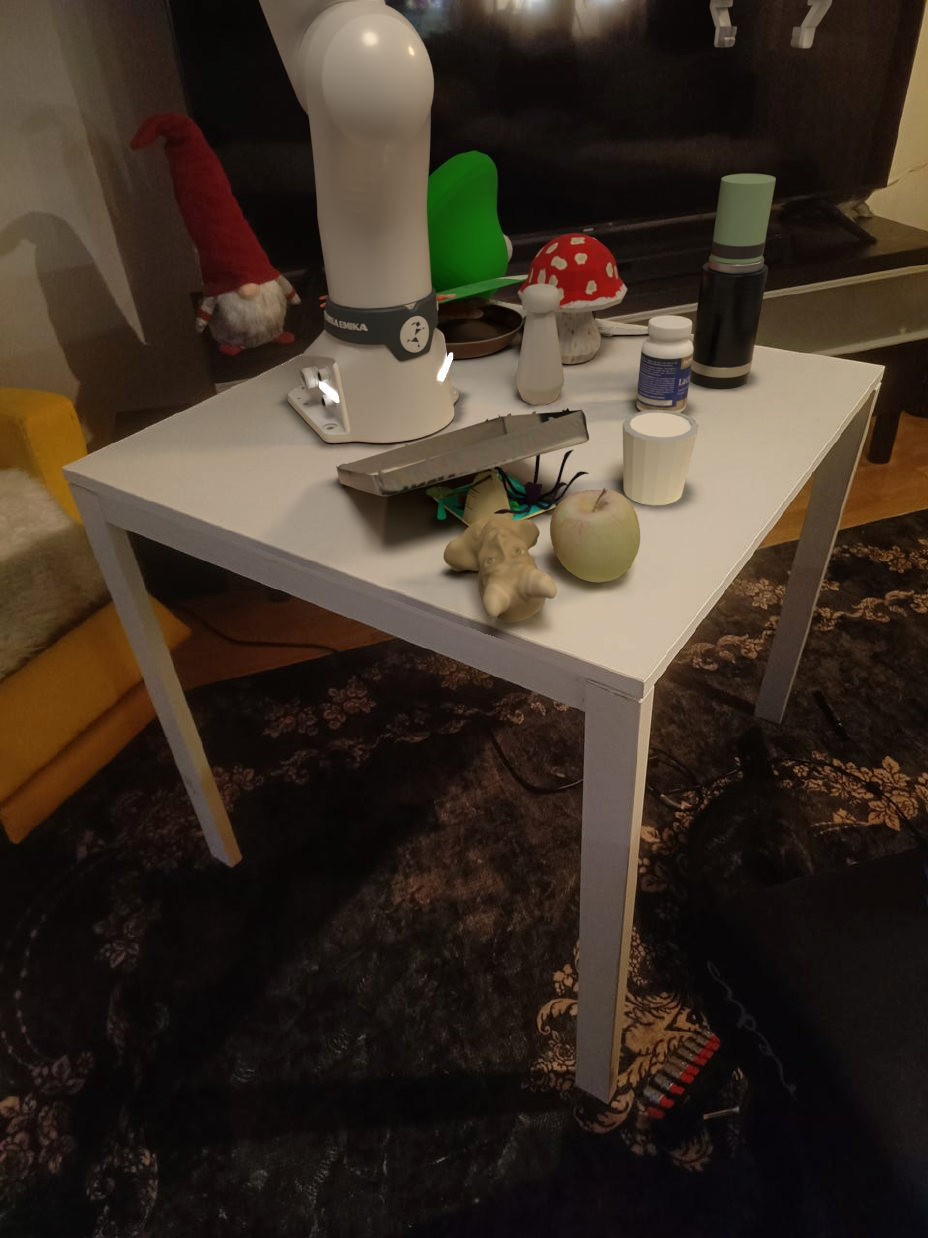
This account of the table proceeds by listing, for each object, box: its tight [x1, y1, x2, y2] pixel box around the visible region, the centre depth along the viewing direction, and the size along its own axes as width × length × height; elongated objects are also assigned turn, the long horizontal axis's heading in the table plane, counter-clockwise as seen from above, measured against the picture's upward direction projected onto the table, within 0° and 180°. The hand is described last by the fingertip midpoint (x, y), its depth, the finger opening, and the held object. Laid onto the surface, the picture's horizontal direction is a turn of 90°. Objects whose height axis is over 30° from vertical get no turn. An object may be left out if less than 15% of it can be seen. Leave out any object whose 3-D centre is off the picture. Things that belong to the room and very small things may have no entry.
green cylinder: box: [710, 173, 777, 264], centre depth 88 cm, size 6×6×8 cm
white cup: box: [622, 410, 699, 506], centre depth 76 cm, size 7×7×7 cm
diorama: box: [425, 449, 589, 527], centre depth 75 cm, size 11×15×6 cm
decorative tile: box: [335, 407, 590, 497], centre depth 75 cm, size 20×3×20 cm
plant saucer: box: [436, 303, 524, 360], centre depth 113 cm, size 18×18×3 cm
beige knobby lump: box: [442, 516, 558, 623], centre depth 63 cm, size 8×7×12 cm
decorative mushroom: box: [517, 233, 628, 365], centre depth 102 cm, size 14×14×15 cm
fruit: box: [549, 487, 641, 583], centre depth 65 cm, size 8×7×8 cm
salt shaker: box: [515, 284, 565, 406], centre depth 93 cm, size 6×6×13 cm
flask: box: [690, 255, 769, 390], centre depth 95 cm, size 7×7×14 cm
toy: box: [427, 150, 513, 299], centre depth 120 cm, size 26×24×15 cm
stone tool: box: [438, 297, 495, 323], centre depth 113 cm, size 14×3×15 cm
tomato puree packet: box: [436, 273, 529, 304], centre depth 108 cm, size 15×1×20 cm
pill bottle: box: [635, 314, 693, 414], centre depth 90 cm, size 6×6×10 cm
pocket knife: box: [597, 326, 649, 338], centre depth 113 cm, size 14×1×2 cm
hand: (760, 47), depth 85 cm, fingers open, 8 cm apart
